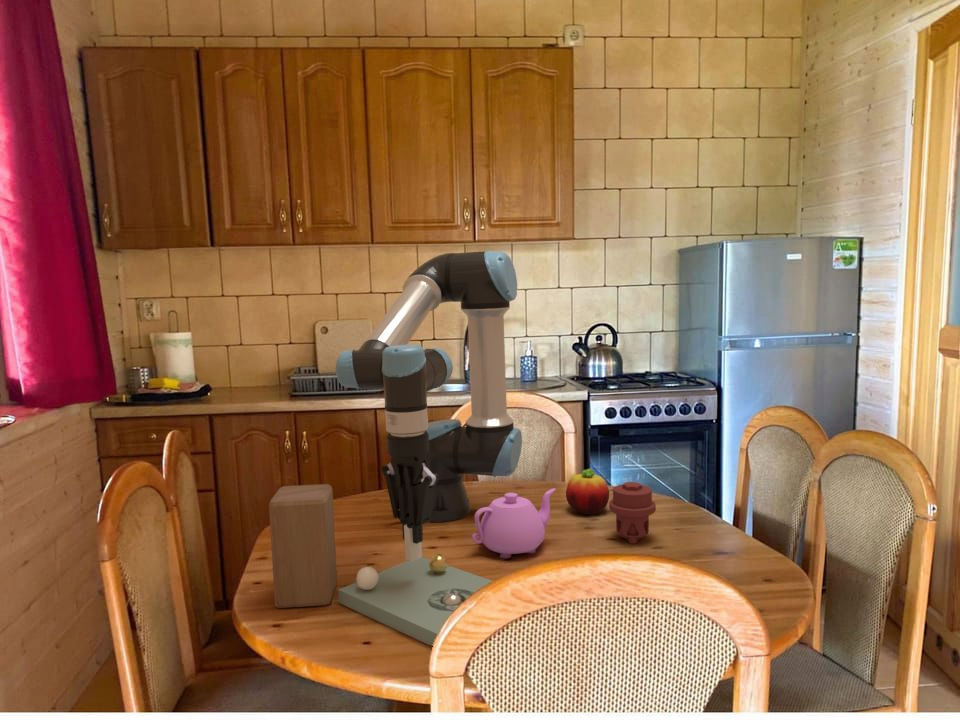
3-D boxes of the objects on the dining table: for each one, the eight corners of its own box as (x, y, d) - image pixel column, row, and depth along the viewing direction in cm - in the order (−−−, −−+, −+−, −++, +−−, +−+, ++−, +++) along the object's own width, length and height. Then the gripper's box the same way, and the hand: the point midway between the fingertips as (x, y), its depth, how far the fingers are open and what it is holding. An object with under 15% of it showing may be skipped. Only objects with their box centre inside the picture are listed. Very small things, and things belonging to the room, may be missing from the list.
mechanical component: (654, 531, 153) (657, 548, 143) (609, 529, 155) (609, 545, 145) (654, 478, 152) (656, 491, 142) (609, 477, 154) (608, 490, 144)
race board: (339, 603, 122) (338, 589, 121) (419, 567, 137) (419, 555, 136) (440, 650, 104) (440, 635, 104) (520, 604, 119) (520, 590, 119)
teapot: (542, 530, 156) (541, 479, 154) (573, 551, 143) (572, 495, 141) (461, 544, 148) (459, 491, 147) (485, 568, 135) (484, 509, 134)
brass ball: (425, 573, 128) (424, 555, 127) (438, 567, 130) (437, 549, 130) (438, 577, 125) (437, 559, 125) (451, 571, 128) (450, 554, 128)
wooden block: (285, 586, 129) (279, 485, 127) (338, 583, 130) (332, 482, 128) (274, 610, 120) (267, 501, 118) (331, 606, 120) (325, 498, 118)
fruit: (561, 515, 165) (560, 476, 164) (572, 502, 175) (571, 465, 174) (604, 520, 161) (603, 479, 160) (613, 506, 171) (613, 468, 170)
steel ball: (434, 604, 117) (444, 595, 115) (447, 594, 119) (457, 585, 117) (447, 621, 116) (456, 612, 114) (460, 611, 118) (469, 602, 116)
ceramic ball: (352, 589, 121) (351, 568, 121) (369, 582, 124) (368, 561, 124) (366, 596, 119) (365, 574, 118) (383, 588, 122) (382, 566, 121)
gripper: (367, 431, 122) (374, 556, 125) (417, 441, 113) (423, 574, 116) (398, 423, 127) (405, 543, 130) (448, 432, 119) (453, 560, 122)
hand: (413, 558), depth 123 cm, fingers closed
